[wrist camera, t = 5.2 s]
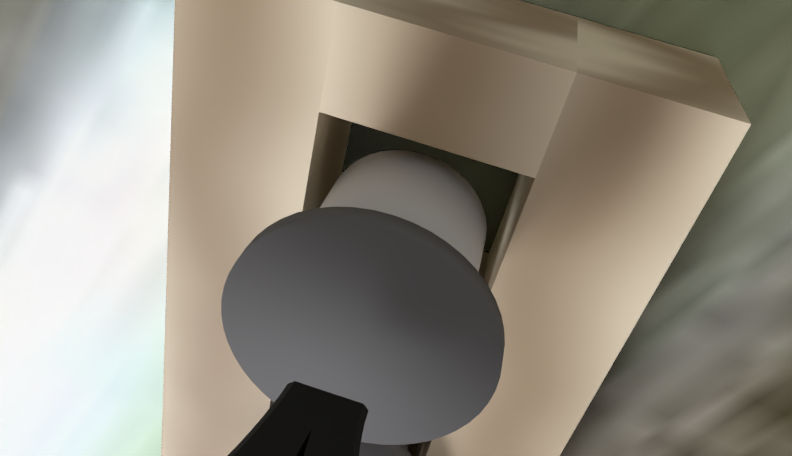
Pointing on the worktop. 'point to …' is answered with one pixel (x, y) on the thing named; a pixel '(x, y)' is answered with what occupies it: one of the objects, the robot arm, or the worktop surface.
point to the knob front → (375, 299)
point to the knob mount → (454, 132)
